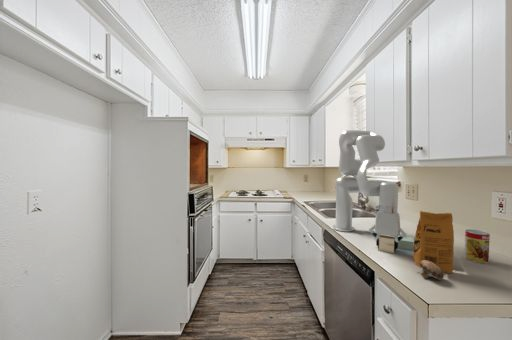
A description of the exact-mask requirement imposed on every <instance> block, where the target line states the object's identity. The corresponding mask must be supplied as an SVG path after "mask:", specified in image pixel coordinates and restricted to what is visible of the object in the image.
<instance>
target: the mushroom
mask: <svg viewBox="0 0 512 340" xmlns="http://www.w3.org/2000/svg"><path fill="white" fill-rule="evenodd" d="M419 264H420V266H421V267H420V268H422V270H421V271H419V273H420V276H421V277H422V278H424V279H428V278H434V279H436V280H438V281H442V280H443V279H444V271H442V270H441V269H440V268H439V267H438V266H437V265H435V264H434V263H432V262H431V261H428V260H422V261H420V263H419Z"/></svg>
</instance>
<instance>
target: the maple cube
mask: <svg viewBox="0 0 512 340" xmlns="http://www.w3.org/2000/svg"><path fill="white" fill-rule="evenodd" d="M394 241H395V239H394V236H389V235H382V234H381V235H380V237H379V250H380V251H379V252H383V251H386V252H385V253H389V252H392V253H391V254H395V253H394Z"/></svg>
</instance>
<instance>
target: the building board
mask: <svg viewBox="0 0 512 340" xmlns="http://www.w3.org/2000/svg"><path fill="white" fill-rule="evenodd" d="M377 251H378V252H381V251H380V250H379V248H378V247H377ZM382 252H383V253H387V252H386V251H382ZM388 253H390V254H395V255H401V256H406V257H412V258H413V251H411V250H405V249H399V248H398V249H396V251H394V253H392V252H388Z"/></svg>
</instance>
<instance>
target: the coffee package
mask: <svg viewBox="0 0 512 340" xmlns="http://www.w3.org/2000/svg"><path fill="white" fill-rule="evenodd" d="M454 231H455V230H454V225H453V213H452V212H444V213H434V212H429V211H423V210H419V218H418V222H417V225H416V231H415V237H414V247H413V257H412V259H413V260H414V263H415V265H416V266H417V267H419V268H422V267H421V266H420V264H419V263H420V261H422V260H428V261H431V262H432V263H434V264H435V265H437V266H438V267H439V268H440V269H441V270H442V272H443V273H444V274H452V273H453V271H454V270H453V269H454V249H455V248H454V244H455V242H454V241H455V240H454V239H455V236H454V234H455V232H454Z"/></svg>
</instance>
